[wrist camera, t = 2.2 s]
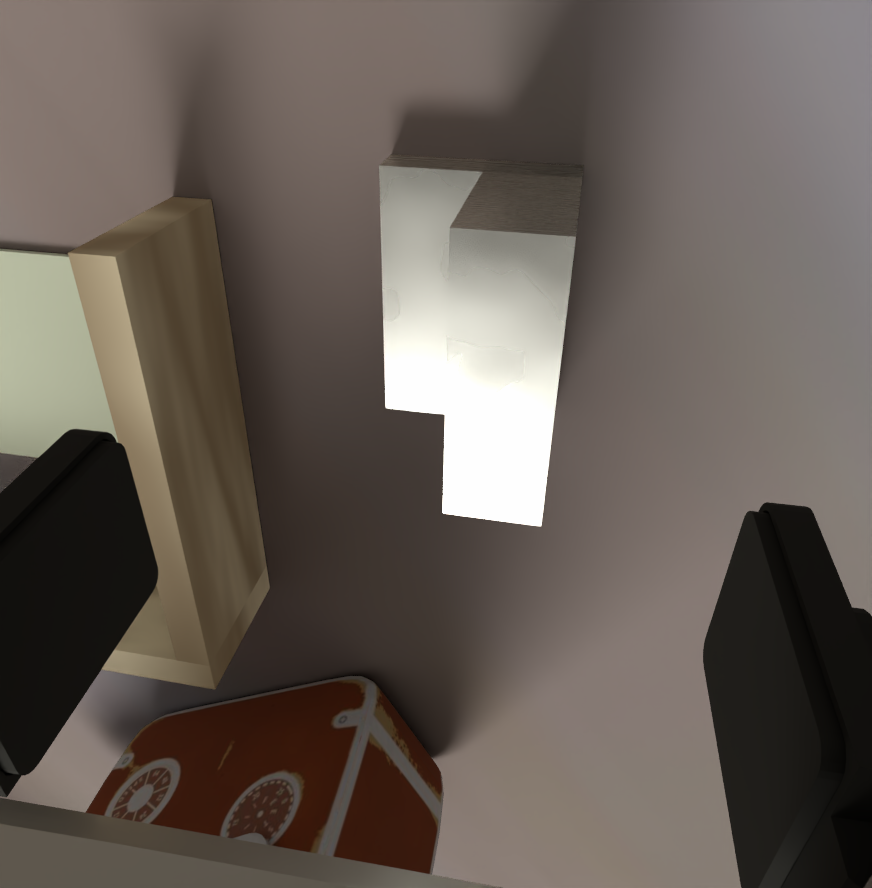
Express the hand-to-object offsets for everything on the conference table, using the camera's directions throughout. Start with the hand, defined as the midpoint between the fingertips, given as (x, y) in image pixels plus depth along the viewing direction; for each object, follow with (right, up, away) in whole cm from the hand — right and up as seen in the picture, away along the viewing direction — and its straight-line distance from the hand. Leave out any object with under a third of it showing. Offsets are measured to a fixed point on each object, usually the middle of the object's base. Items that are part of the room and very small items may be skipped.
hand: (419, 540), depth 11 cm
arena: (-12, +3, +15) cm, 19 cm away
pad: (-14, +4, +14) cm, 21 cm away
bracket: (+2, +6, +10) cm, 12 cm away
